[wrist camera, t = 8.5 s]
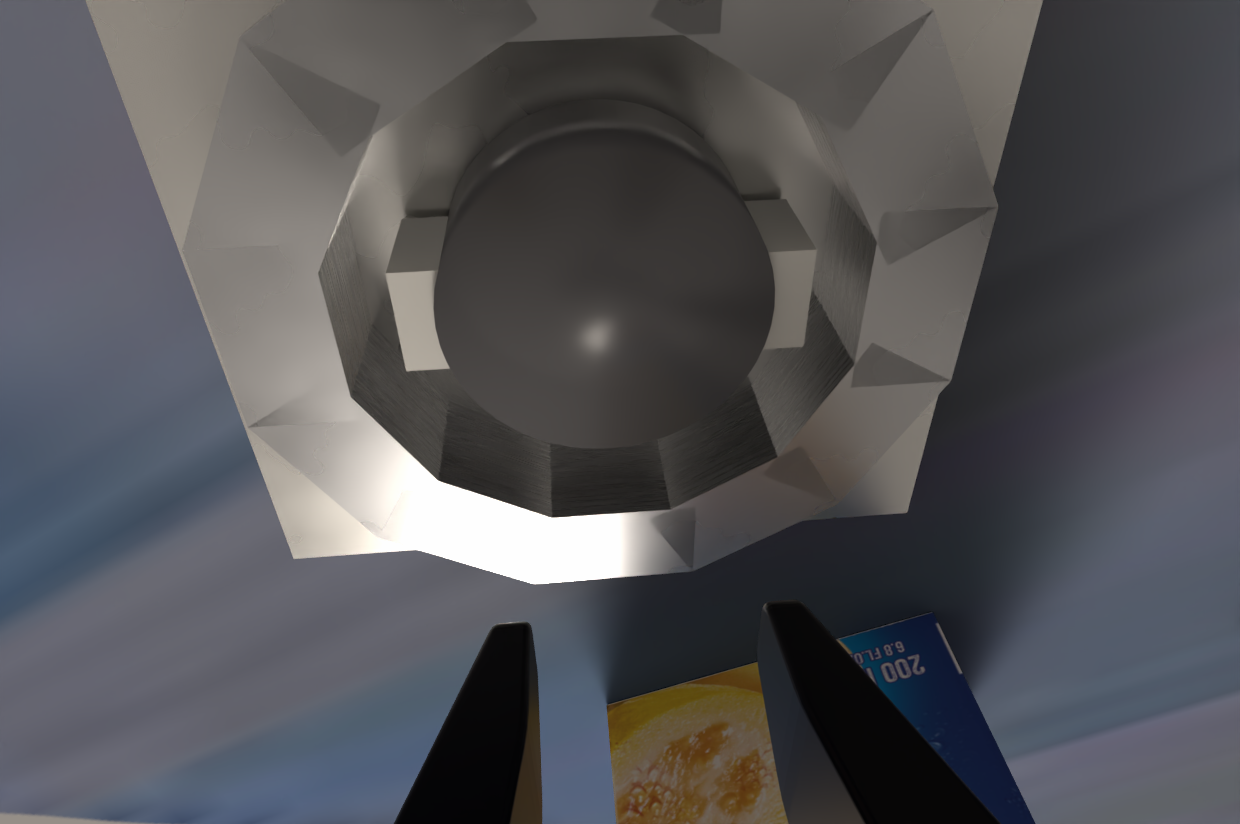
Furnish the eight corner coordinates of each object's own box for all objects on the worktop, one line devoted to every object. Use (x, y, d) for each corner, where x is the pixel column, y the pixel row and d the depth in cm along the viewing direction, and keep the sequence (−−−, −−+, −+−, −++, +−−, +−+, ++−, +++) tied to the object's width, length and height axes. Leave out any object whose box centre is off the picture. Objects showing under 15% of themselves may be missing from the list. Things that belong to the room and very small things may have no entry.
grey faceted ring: (899, 497, 22) (946, 588, 20) (299, 541, 22) (268, 642, 19) (1091, -262, 13) (1230, -273, 10) (17, -240, 12) (-123, -246, 9)
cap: (765, 363, 19) (794, 436, 17) (435, 384, 18) (422, 461, 16) (795, 90, 15) (836, 139, 13) (383, 108, 15) (358, 162, 13)
